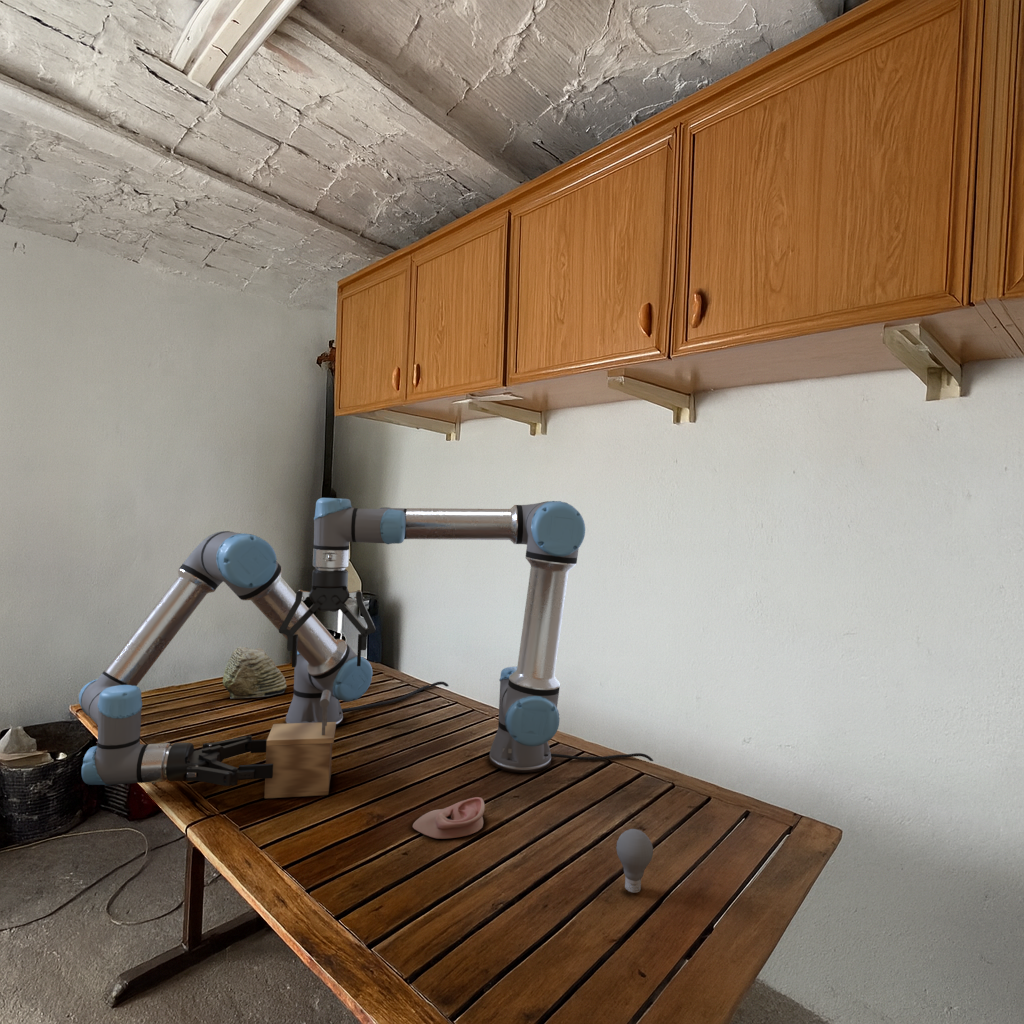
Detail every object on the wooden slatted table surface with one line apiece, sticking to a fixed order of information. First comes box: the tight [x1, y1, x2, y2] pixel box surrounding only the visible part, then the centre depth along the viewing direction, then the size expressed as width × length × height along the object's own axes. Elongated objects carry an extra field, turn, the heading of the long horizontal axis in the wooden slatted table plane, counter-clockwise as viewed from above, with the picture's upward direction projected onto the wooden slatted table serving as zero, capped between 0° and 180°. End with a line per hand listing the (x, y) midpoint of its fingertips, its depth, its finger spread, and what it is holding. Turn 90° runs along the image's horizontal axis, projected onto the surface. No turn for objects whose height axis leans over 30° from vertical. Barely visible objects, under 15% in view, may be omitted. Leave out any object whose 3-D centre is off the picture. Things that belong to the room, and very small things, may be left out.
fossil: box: [222, 646, 288, 699], centre depth 198 cm, size 9×18×15 cm, turn 132°
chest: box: [264, 743, 333, 799], centre depth 138 cm, size 13×10×11 cm
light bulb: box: [615, 828, 654, 894], centre depth 106 cm, size 6×6×10 cm
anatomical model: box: [412, 796, 486, 840], centre depth 124 cm, size 13×4×12 cm
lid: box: [266, 690, 337, 746], centre depth 138 cm, size 14×10×9 cm
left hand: (277, 757), depth 137 cm, fingers open, 13 cm apart
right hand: (326, 665), depth 139 cm, fingers open, 13 cm apart
